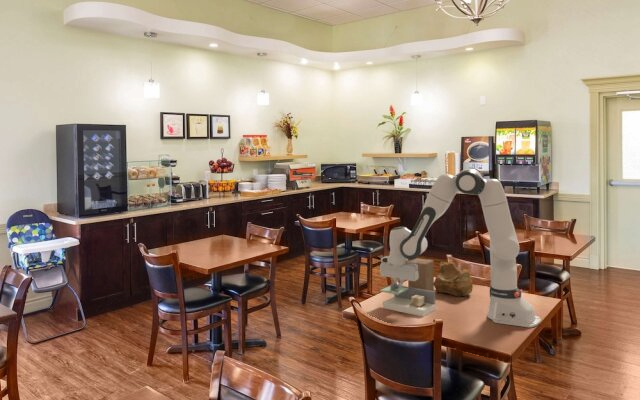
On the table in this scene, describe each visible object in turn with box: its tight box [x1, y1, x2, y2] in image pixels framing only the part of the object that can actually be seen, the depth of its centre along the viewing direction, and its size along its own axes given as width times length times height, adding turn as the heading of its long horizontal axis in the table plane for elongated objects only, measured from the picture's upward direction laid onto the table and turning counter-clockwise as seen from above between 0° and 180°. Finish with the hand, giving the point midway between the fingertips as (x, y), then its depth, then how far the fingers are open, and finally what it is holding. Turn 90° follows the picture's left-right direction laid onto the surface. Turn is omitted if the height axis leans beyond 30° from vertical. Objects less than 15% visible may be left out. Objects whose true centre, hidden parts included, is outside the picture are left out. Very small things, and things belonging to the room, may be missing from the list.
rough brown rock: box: [434, 261, 474, 297], centre depth 264 cm, size 23×17×15 cm
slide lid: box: [379, 282, 409, 295], centre depth 243 cm, size 10×10×4 cm
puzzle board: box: [382, 285, 436, 318], centre depth 239 cm, size 22×12×9 cm, turn 50°
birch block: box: [411, 295, 424, 308], centre depth 236 cm, size 4×4×7 cm
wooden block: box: [407, 257, 435, 292], centre depth 254 cm, size 10×10×20 cm
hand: (399, 287), depth 242 cm, fingers closed
